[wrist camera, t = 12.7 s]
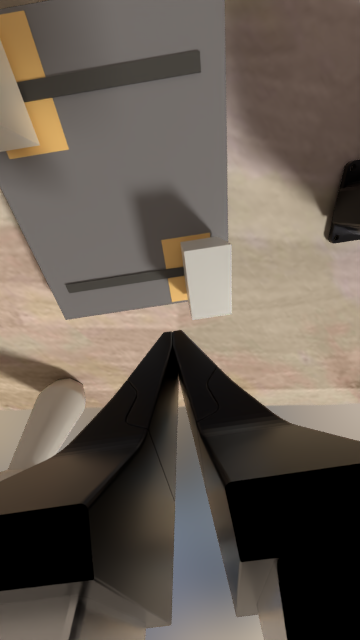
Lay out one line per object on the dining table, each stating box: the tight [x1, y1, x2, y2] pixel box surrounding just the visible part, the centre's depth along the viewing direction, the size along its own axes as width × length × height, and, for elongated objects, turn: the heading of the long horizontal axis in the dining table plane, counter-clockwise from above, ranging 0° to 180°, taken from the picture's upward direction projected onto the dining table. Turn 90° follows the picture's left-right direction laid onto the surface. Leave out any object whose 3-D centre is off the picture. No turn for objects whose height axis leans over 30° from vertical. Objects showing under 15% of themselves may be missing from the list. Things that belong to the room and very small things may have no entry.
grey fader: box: [180, 236, 232, 320], centre depth 15 cm, size 3×5×4 cm, turn 8°
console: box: [0, 0, 228, 320], centre depth 16 cm, size 16×18×3 cm
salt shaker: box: [0, 378, 86, 481], centre depth 22 cm, size 6×6×13 cm
